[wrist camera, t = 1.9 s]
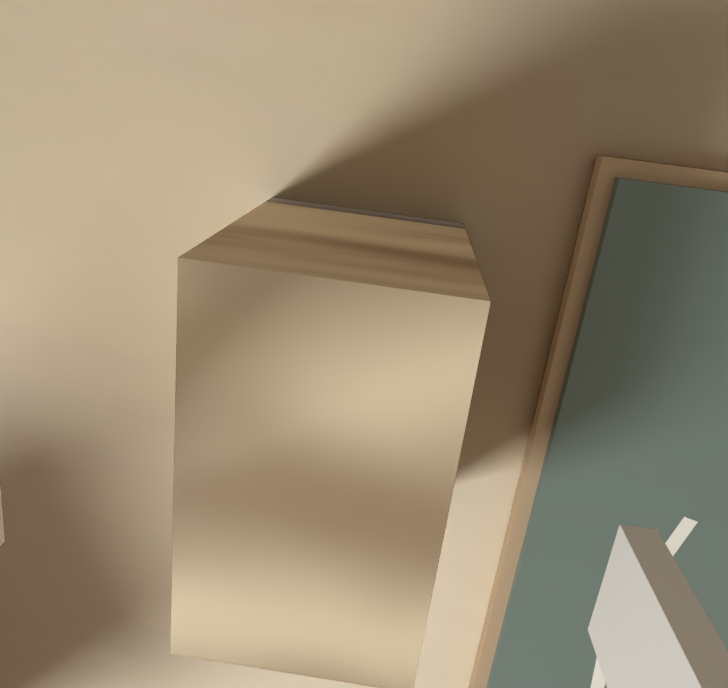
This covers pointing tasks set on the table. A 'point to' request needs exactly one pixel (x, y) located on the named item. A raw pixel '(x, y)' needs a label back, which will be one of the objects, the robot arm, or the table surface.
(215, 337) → the eraser block
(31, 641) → the table surface
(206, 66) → the table surface
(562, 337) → the chalkboard
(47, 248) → the table surface
